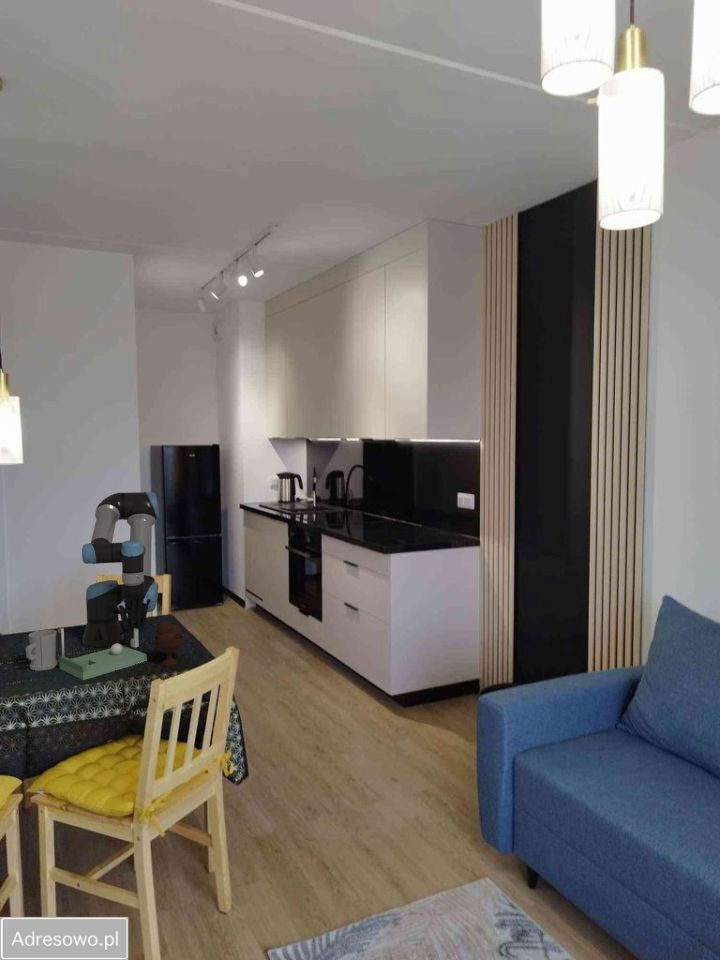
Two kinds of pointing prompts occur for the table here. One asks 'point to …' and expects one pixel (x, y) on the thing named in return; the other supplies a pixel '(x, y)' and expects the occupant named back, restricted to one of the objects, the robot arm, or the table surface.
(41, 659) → the cup
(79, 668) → the putting mat
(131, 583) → the robot arm
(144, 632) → the table surface
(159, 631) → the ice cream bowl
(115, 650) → the ball
